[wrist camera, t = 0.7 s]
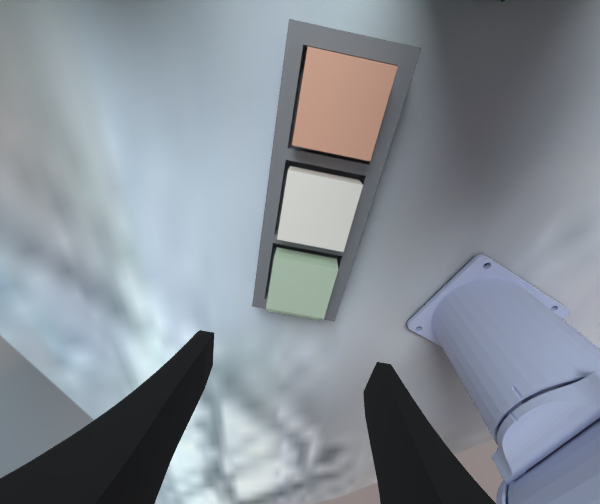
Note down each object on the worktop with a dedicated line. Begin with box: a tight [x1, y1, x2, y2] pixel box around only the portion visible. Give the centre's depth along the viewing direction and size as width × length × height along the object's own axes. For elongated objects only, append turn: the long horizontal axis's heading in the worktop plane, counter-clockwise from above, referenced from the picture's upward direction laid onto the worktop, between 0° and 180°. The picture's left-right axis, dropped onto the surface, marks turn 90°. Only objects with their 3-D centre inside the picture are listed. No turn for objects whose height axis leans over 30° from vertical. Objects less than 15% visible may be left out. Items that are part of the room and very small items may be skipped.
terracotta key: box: [292, 47, 398, 161], centre depth 13 cm, size 4×4×1 cm
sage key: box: [266, 247, 338, 319], centre depth 17 cm, size 4×4×1 cm
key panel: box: [252, 19, 421, 321], centre depth 17 cm, size 17×6×2 cm, turn 169°
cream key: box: [277, 166, 363, 252], centre depth 15 cm, size 4×4×1 cm
